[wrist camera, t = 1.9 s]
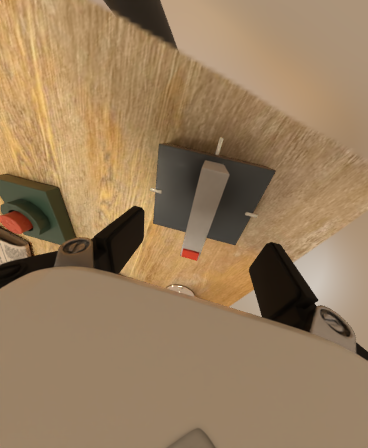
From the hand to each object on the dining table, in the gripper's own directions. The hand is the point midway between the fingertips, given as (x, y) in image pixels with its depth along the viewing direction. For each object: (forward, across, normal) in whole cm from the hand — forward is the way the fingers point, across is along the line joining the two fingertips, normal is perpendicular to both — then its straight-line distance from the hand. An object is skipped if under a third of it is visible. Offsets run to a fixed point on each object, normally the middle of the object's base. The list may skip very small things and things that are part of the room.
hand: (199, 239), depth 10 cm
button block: (+10, +29, +11) cm, 33 cm away
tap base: (+10, 0, 0) cm, 10 cm away
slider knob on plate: (+7, 0, 0) cm, 7 cm away
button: (+6, +29, +11) cm, 32 cm away
